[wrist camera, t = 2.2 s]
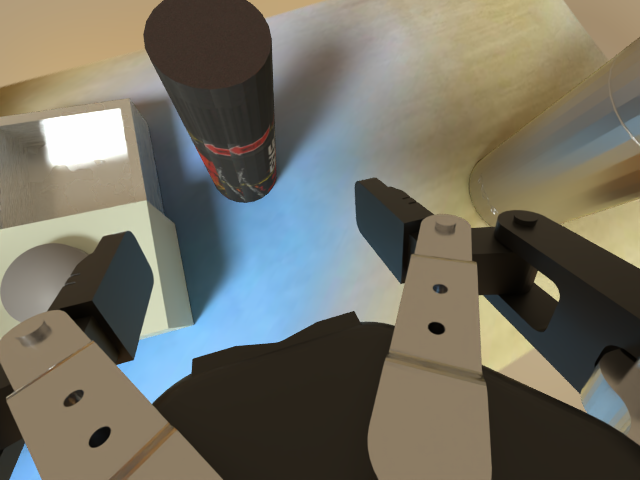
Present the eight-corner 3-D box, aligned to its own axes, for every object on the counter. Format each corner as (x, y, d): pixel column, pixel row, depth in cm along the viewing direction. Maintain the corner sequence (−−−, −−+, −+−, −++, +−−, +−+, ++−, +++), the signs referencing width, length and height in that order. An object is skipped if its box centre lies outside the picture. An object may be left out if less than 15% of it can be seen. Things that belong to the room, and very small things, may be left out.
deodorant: (278, 201, 29) (274, 90, 15) (212, 204, 28) (140, 89, 14) (274, 144, 30) (268, -10, 16) (212, 145, 30) (145, -16, 15)
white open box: (148, 125, 29) (129, 98, 26) (166, 225, 27) (148, 212, 24) (22, 145, 27) (-18, 119, 24) (32, 254, 25) (-10, 244, 22)
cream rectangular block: (174, 224, 27) (140, 194, 21) (193, 325, 26) (162, 329, 19) (23, 256, 25) (-72, 236, 19) (32, 369, 24) (-68, 391, 17)
